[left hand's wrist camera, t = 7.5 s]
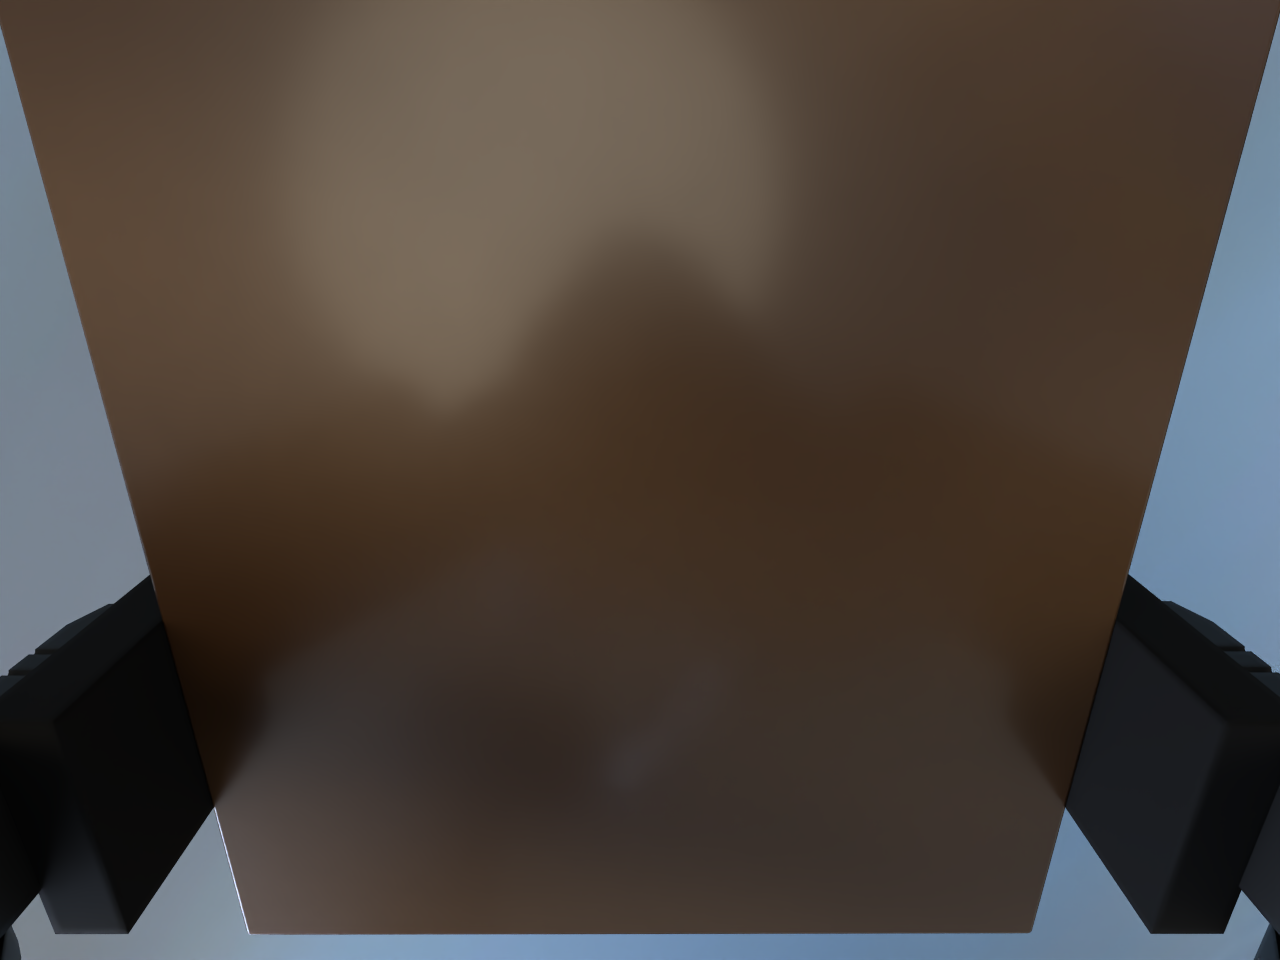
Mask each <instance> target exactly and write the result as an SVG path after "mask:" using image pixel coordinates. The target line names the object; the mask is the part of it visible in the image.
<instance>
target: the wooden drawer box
mask: <svg viewBox="0 0 1280 960" xmlns="http://www.w3.org/2000/svg"><path fill="white" fill-rule="evenodd" d="M1279 14H1280V0H0V26H1V29H2V33H3V37H4V40H5V44H6V48H7V51H8V55H9V59H10V62H11V66H12V70H13V73H14V77H15V81H16V84H17V88H18V92H19V95H20V99H21V103H22V106H23V110H24V114H25V117H26V121H27V125H28V128H29V132H30V136H31V139H32V143H33V147H34V150H35V154H36V158H37V161H38V165H39V169H40V172H41V176H42V180H43V183H44V187H45V191H46V194H47V198H48V202H49V205H50V209H51V213H52V216H53V220H54V224H55V227H56V231H57V235H58V238H59V242H60V246H61V250H62V253H63V257H64V261H65V264H66V268H67V272H68V275H69V279H70V283H71V286H72V290H73V294H74V297H75V301H76V305H77V308H78V312H79V316H80V319H81V323H82V327H83V330H84V334H85V338H86V341H87V345H88V349H89V352H90V356H91V360H92V363H93V367H94V371H95V374H96V378H97V382H98V385H99V389H100V393H101V396H102V400H103V404H104V407H105V411H106V415H107V418H108V422H109V426H110V429H111V433H112V437H113V440H114V444H115V448H116V451H117V455H118V459H119V462H120V466H121V470H122V473H123V477H124V481H125V484H126V488H127V492H128V495H129V499H130V503H131V506H132V510H133V514H134V518H135V521H136V525H137V529H138V532H139V536H140V540H141V543H142V547H143V551H144V554H145V558H146V562H147V565H148V569H149V573H150V576H151V580H152V584H153V587H154V591H155V595H156V598H157V602H158V606H159V609H160V613H161V617H162V620H163V624H164V628H165V631H166V635H167V639H168V642H169V646H170V650H171V653H172V657H173V661H174V664H175V668H176V672H177V675H178V679H179V683H180V686H181V690H182V694H183V697H184V701H185V705H186V708H187V712H188V716H189V719H190V723H191V727H192V730H193V734H194V738H195V741H196V745H197V749H198V752H199V756H200V760H201V763H202V767H203V771H204V775H205V778H206V782H207V786H208V789H209V793H210V797H211V800H212V804H213V808H214V811H215V815H216V819H217V822H218V826H219V830H220V833H221V837H222V841H223V844H224V848H225V852H226V855H227V859H228V863H229V866H230V870H231V874H232V877H233V881H234V885H235V888H236V892H237V896H238V899H239V903H240V907H241V910H242V914H243V918H244V921H245V925H246V929H247V932H248V933H249V934H251V935H375V934H873V933H1030V932H1031V931H1032V928H1033V924H1034V920H1035V917H1036V913H1037V909H1038V906H1039V902H1040V898H1041V895H1042V891H1043V887H1044V883H1045V880H1046V876H1047V872H1048V869H1049V865H1050V861H1051V858H1052V854H1053V850H1054V846H1055V843H1056V839H1057V835H1058V832H1059V828H1060V824H1061V821H1062V817H1063V813H1064V809H1065V806H1066V802H1067V798H1068V795H1069V791H1070V787H1071V784H1072V780H1073V776H1074V772H1075V769H1076V765H1077V761H1078V758H1079V754H1080V750H1081V747H1082V743H1083V739H1084V735H1085V732H1086V728H1087V724H1088V721H1089V717H1090V713H1091V710H1092V706H1093V702H1094V698H1095V695H1096V691H1097V687H1098V684H1099V680H1100V676H1101V673H1102V669H1103V665H1104V661H1105V658H1106V654H1107V650H1108V647H1109V643H1110V639H1111V636H1112V632H1113V628H1114V624H1115V621H1116V617H1117V613H1118V610H1119V606H1120V602H1121V599H1122V595H1123V591H1124V587H1125V584H1126V580H1127V576H1128V573H1129V569H1130V565H1131V562H1132V558H1133V554H1134V550H1135V547H1136V543H1137V539H1138V536H1139V532H1140V528H1141V525H1142V521H1143V517H1144V513H1145V510H1146V506H1147V502H1148V499H1149V495H1150V491H1151V488H1152V484H1153V480H1154V476H1155V473H1156V469H1157V465H1158V462H1159V458H1160V454H1161V451H1162V447H1163V443H1164V439H1165V436H1166V432H1167V428H1168V425H1169V421H1170V417H1171V413H1172V410H1173V406H1174V402H1175V399H1176V395H1177V391H1178V388H1179V384H1180V380H1181V376H1182V373H1183V369H1184V365H1185V362H1186V358H1187V354H1188V351H1189V347H1190V343H1191V339H1192V336H1193V332H1194V328H1195V325H1196V321H1197V317H1198V314H1199V310H1200V306H1201V302H1202V299H1203V295H1204V291H1205V288H1206V284H1207V280H1208V277H1209V273H1210V269H1211V265H1212V262H1213V258H1214V254H1215V251H1216V247H1217V243H1218V240H1219V236H1220V232H1221V228H1222V225H1223V221H1224V217H1225V214H1226V210H1227V206H1228V203H1229V199H1230V195H1231V191H1232V188H1233V184H1234V180H1235V177H1236V173H1237V169H1238V166H1239V162H1240V158H1241V154H1242V151H1243V147H1244V143H1245V140H1246V136H1247V132H1248V129H1249V125H1250V121H1251V117H1252V114H1253V110H1254V106H1255V103H1256V99H1257V95H1258V92H1259V88H1260V84H1261V80H1262V77H1263V73H1264V69H1265V66H1266V62H1267V58H1268V55H1269V51H1270V47H1271V43H1272V40H1273V36H1274V32H1275V29H1276V25H1277V21H1278V18H1279Z"/></svg>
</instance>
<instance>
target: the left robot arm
mask: <svg viewBox="0 0 1280 960" xmlns="http://www.w3.org/2000/svg"><path fill="white" fill-rule="evenodd" d="M1244 648H1245V646H1243V645H1242V644H1241V643H1239V642H1238V641H1237V640H1236V639H1234V638H1233V637H1232V636H1230V635H1229V634H1228V633H1227V632H1225V631H1224V630H1223V629H1221V628H1220V627H1219V626H1218V625H1216V624H1215V623H1214V622H1212V621H1210V620H1208V619H1206V618H1204V617H1202V616H1200V615H1198V614H1196V613H1194V612H1192V611H1190V610H1188V609H1186V608H1184V607H1182V606H1180V605H1178V604H1176V603H1174V602H1172V601H1161V600H1160V599H1158V598H1157V597H1156V596H1155V595H1154V594H1152V593H1151V592H1150V591H1149V590H1147V589H1146V588H1145V587H1144V586H1142V585H1141V584H1140V583H1139V582H1137V581H1136V580H1135V579H1134V578H1133V577H1131V576H1130V575H1129V574H1128V576H1127V580H1126V584H1125V587H1124V591H1123V595H1122V599H1121V602H1120V606H1119V610H1118V613H1117V617H1116V621H1115V624H1114V628H1113V632H1112V636H1111V639H1110V643H1109V647H1108V650H1107V654H1106V658H1105V661H1104V665H1103V669H1102V673H1101V676H1100V680H1099V684H1098V687H1097V691H1096V695H1095V698H1094V702H1093V706H1092V710H1091V713H1090V717H1089V721H1088V724H1087V728H1086V732H1085V735H1084V739H1083V743H1082V747H1081V750H1080V754H1079V758H1078V761H1077V765H1076V769H1075V772H1074V776H1073V780H1072V784H1071V787H1070V791H1069V795H1068V798H1067V802H1066V806H1065V807H1066V809H1067V810H1068V812H1069V813H1070V815H1071V816H1072V818H1073V819H1074V821H1075V822H1076V824H1077V825H1078V827H1079V828H1080V830H1081V831H1082V833H1083V834H1084V836H1085V837H1086V839H1087V840H1088V841H1089V843H1090V844H1091V846H1092V847H1093V849H1094V850H1095V852H1096V853H1097V855H1098V856H1099V858H1100V859H1101V861H1102V862H1103V864H1104V865H1105V867H1106V868H1107V870H1108V871H1109V873H1110V874H1111V876H1112V877H1113V878H1114V880H1115V881H1116V883H1117V884H1118V886H1119V887H1120V889H1121V890H1122V892H1123V893H1124V895H1125V896H1126V898H1127V899H1128V901H1129V902H1130V904H1131V905H1132V907H1133V908H1134V910H1135V911H1136V913H1137V914H1138V916H1139V917H1140V918H1141V920H1142V921H1143V923H1144V924H1145V926H1146V927H1147V929H1148V930H1149V932H1150V933H1151V934H1224V932H1225V929H1226V927H1227V924H1228V922H1229V919H1230V917H1231V914H1232V912H1233V909H1234V907H1235V905H1236V902H1237V900H1238V897H1239V895H1240V892H1241V890H1242V891H1243V892H1244V893H1245V895H1246V896H1247V897H1248V898H1249V899H1250V900H1251V902H1252V903H1253V904H1254V905H1255V906H1256V908H1257V909H1258V910H1259V911H1260V912H1261V914H1262V915H1263V916H1264V917H1265V918H1266V919H1267V921H1268V922H1269V923H1270V924H1269V926H1268V928H1267V930H1266V933H1265V935H1264V937H1263V940H1262V942H1261V944H1260V946H1259V949H1258V951H1257V953H1256V956H1255V958H1254V960H1280V674H1279V673H1272V671H1271V667H1270V666H1269V665H1268V664H1267V663H1265V662H1264V661H1263V660H1261V659H1260V658H1259V657H1258V656H1256V655H1255V654H1254V653H1252V652H1251V651H1245V649H1244ZM212 809H213V804H212V800H211V797H210V793H209V789H208V786H207V782H206V778H205V775H204V771H203V767H202V763H201V760H200V756H199V752H198V749H197V745H196V741H195V738H194V734H193V730H192V727H191V723H190V719H189V716H188V712H187V708H186V705H185V701H184V697H183V694H182V690H181V686H180V683H179V679H178V675H177V672H176V668H175V664H174V661H173V657H172V653H171V650H170V646H169V642H168V639H167V635H166V631H165V628H164V624H163V620H162V617H161V613H160V609H159V606H158V602H157V598H156V595H155V591H154V587H153V584H152V580H151V576H150V575H149V576H148V577H146V578H145V579H144V580H143V581H142V582H140V583H139V584H138V585H137V586H135V587H134V588H133V589H132V590H130V591H129V592H128V593H127V594H126V595H124V596H123V597H122V598H121V599H119V600H118V601H117V602H116V603H114V604H108V605H106V606H104V607H102V608H100V609H98V610H96V611H94V612H92V613H90V614H88V615H86V616H84V617H82V618H80V619H78V620H76V621H74V622H72V623H70V624H68V625H66V626H65V627H63V628H62V629H61V630H60V631H58V632H57V633H56V634H54V635H53V636H52V637H51V638H49V639H48V640H47V641H46V642H44V643H43V644H42V645H40V646H39V647H38V648H37V649H35V654H34V655H28V656H26V657H25V658H24V659H22V660H21V661H20V662H19V663H17V664H16V665H15V666H14V667H12V668H11V669H10V670H9V674H8V676H1V677H0V960H21V954H20V949H19V943H18V940H17V937H16V935H15V933H14V930H13V928H12V926H11V925H12V924H13V923H14V922H15V921H16V919H17V918H18V917H19V916H20V915H21V913H22V912H23V911H24V910H25V909H26V907H27V906H28V905H29V904H30V903H31V901H32V900H33V899H34V898H35V897H36V895H37V894H38V893H39V895H40V898H41V900H42V902H43V905H44V907H45V910H46V912H47V915H48V917H49V920H50V922H51V924H52V927H53V929H54V932H55V934H128V933H129V932H130V931H131V929H132V928H133V926H134V925H135V923H136V922H137V920H138V919H139V917H140V916H141V914H142V913H143V911H144V910H145V908H146V907H147V905H148V904H149V902H150V901H151V899H152V898H153V896H154V895H155V893H156V892H157V891H158V889H159V888H160V886H161V885H162V883H163V882H164V880H165V879H166V877H167V876H168V874H169V873H170V871H171V870H172V868H173V867H174V865H175V864H176V862H177V861H178V859H179V858H180V856H181V855H182V854H183V852H184V851H185V849H186V848H187V846H188V845H189V843H190V842H191V840H192V839H193V837H194V836H195V834H196V833H197V831H198V830H199V828H200V827H201V825H202V824H203V822H204V821H205V819H206V818H207V816H208V815H209V814H210V812H211V811H212Z"/></svg>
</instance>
